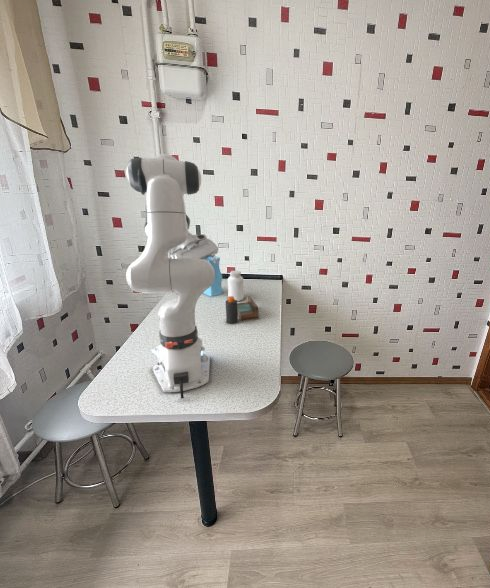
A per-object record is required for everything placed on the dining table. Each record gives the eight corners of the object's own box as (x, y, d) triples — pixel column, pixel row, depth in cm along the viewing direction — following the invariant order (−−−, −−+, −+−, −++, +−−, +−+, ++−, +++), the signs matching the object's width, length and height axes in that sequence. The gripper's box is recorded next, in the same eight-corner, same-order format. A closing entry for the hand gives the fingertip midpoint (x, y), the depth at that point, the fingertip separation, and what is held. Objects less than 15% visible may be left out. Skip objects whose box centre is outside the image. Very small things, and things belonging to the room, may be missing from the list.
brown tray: (258, 318, 155) (258, 306, 153) (241, 321, 152) (241, 309, 149) (250, 307, 167) (249, 296, 164) (234, 309, 163) (233, 298, 161)
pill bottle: (246, 299, 175) (245, 273, 169) (231, 302, 170) (230, 275, 165) (240, 294, 181) (239, 268, 175) (226, 297, 176) (224, 270, 171)
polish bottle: (239, 322, 150) (238, 298, 145) (227, 324, 148) (226, 300, 143) (236, 318, 154) (235, 294, 149) (225, 320, 152) (224, 295, 147)
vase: (202, 293, 180) (199, 257, 173) (213, 289, 186) (211, 255, 179) (211, 296, 176) (209, 260, 169) (223, 292, 182) (221, 257, 175)
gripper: (168, 248, 142) (189, 271, 140) (207, 233, 155) (226, 253, 153) (167, 257, 146) (187, 280, 144) (205, 241, 160) (224, 261, 158)
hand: (207, 266), depth 149 cm, fingers open, 8 cm apart
